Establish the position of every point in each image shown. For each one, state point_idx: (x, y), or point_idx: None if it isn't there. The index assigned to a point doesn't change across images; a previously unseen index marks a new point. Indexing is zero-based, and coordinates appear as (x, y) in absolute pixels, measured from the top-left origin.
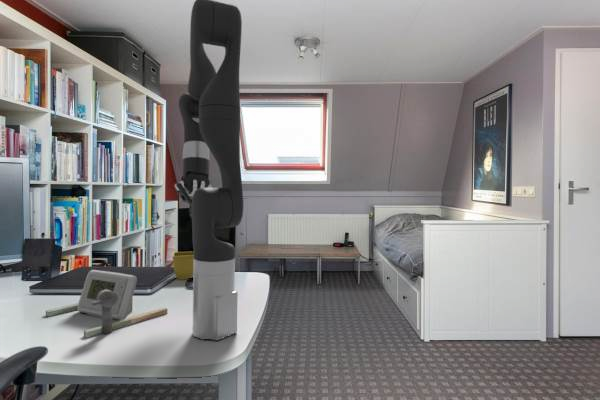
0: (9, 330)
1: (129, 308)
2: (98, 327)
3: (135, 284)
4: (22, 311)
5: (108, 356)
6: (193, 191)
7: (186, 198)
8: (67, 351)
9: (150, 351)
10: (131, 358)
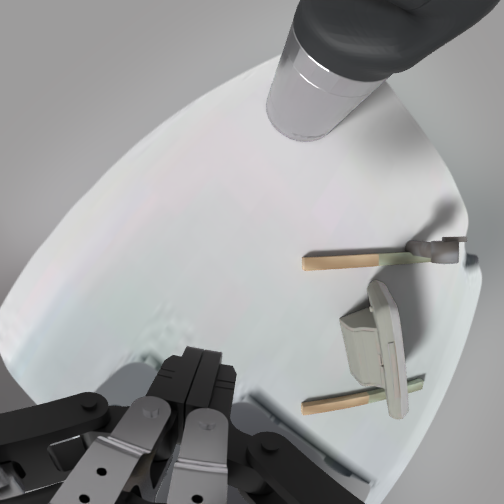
0: (460, 350)
1: (348, 318)
2: (421, 257)
3: (379, 301)
4: (420, 419)
5: (434, 168)
6: (222, 500)
7: (298, 451)
8: (455, 224)
9: (398, 135)
10: (419, 139)
